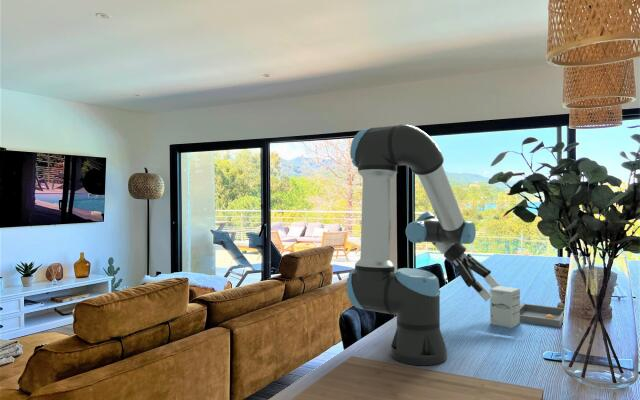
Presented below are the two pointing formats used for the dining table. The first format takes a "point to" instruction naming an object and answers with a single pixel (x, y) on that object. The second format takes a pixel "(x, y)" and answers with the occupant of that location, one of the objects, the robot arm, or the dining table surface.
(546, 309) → the tray
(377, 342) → the dining table surface
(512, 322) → the supplement box
